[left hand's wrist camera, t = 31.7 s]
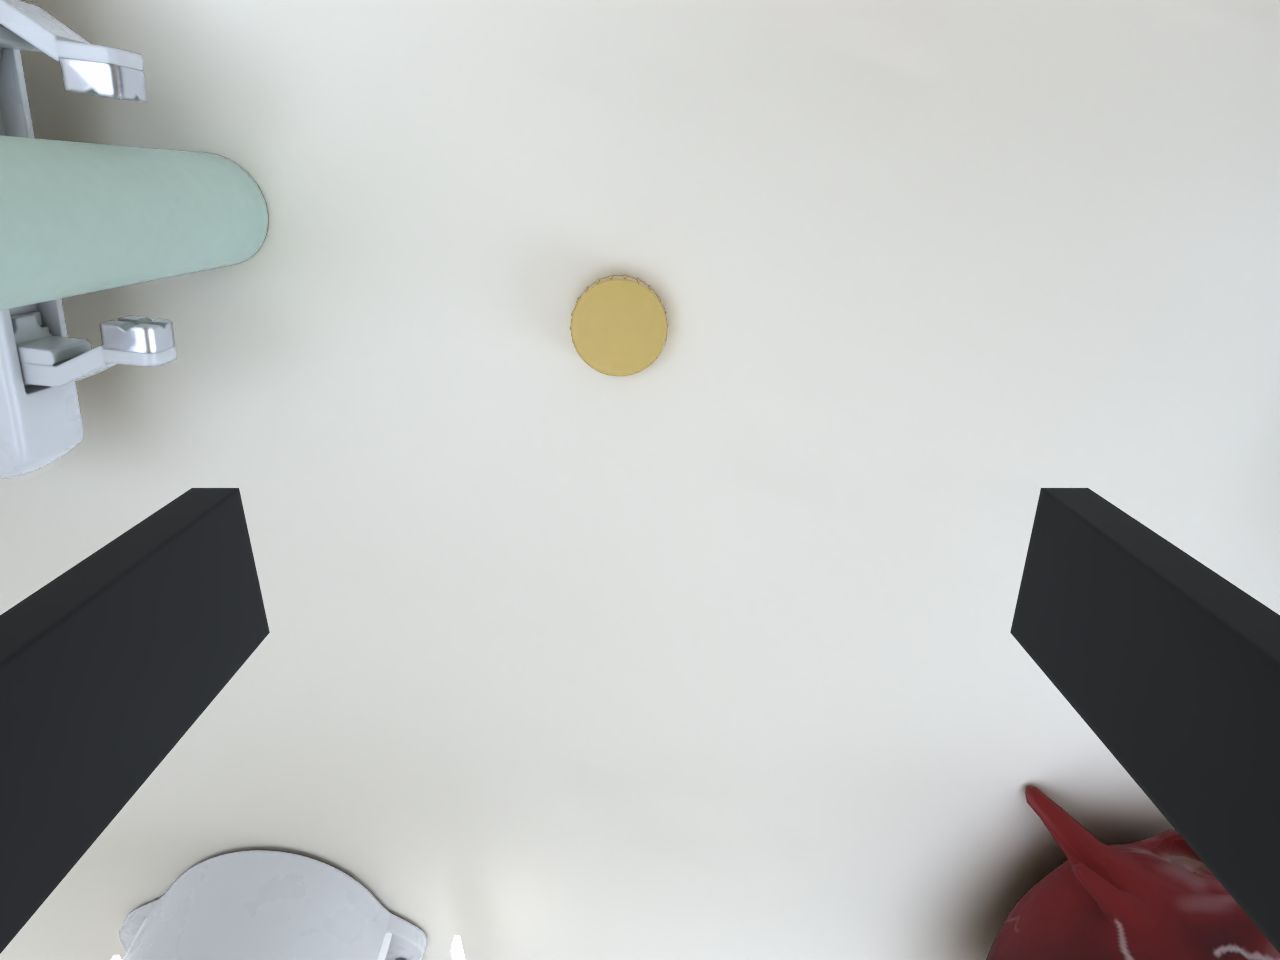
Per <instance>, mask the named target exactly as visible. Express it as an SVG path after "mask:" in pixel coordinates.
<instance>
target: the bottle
mask: <svg viewBox="0 0 1280 960" xmlns="http://www.w3.org/2000/svg"><path fill="white" fill-rule="evenodd" d="M267 229H268V212H267V206H266V203H265V200H264V197H263V195H262V193H261V191H260V189H259V187H258V186H257V184H256V183H255V181H254V180H253V179H252V177H251V176H250V175H249V174H248V173H247V172H246V171H245V170H244V169H243V168H241V167H240V166H239V165H237V164H236V163H234V162H233V161H231V160H229V159H227V158H224V157H222V156H219V155H215V154H210V153H201V152H189V151H178V150H166V149H154V148H142V147H130V146H119V145H107V144H95V143H83V142H71V141H60V140H48V139H36V138H24V137H12V136H0V310H4V309H9V308H15V307H20V306H25V305H30V304H35V303H40V302H45V301H50V300H55V299H60V298H66V297H71V296H76V295H81V294H86V293H91V292H96V291H101V290H106V289H111V288H117V287H122V286H127V285H132V284H137V283H142V282H147V281H152V280H157V279H162V278H168V277H173V276H178V275H183V274H188V273H193V272H198V271H203V270H208V269H213V268H219V267H224V266H229V265H234V264H238V263H241V262H243V261H245V260H247V259H249V258H250V257H252V256H253V255H254V254H255V253H256V252H257V251H258V250H259V248H260V247H261V245H262V244H263V242H264V239H265V237H266V233H267Z"/></svg>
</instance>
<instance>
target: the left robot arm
mask: <svg viewBox="0 0 1280 960" xmlns="http://www.w3.org/2000/svg"><path fill="white" fill-rule="evenodd" d="M268 634H269V628H268V623H267V618H266V614H265V609H264V604H263V600H262V595H261V590H260V585H259V581H258V576H257V571H256V567H255V562H254V557H253V552H252V548H251V543H250V538H249V534H248V529H247V524H246V520H245V515H244V510H243V505H242V501H241V496H240V491H239V488H191V489H190V490H188V491H187V492H185V493H184V494H182V495H181V496H179V497H178V498H176V499H175V500H173V501H172V502H170V503H169V504H167V505H166V506H164V507H163V508H161V509H160V510H158V511H157V512H155V513H154V514H152V515H151V516H149V517H148V518H146V519H145V520H143V521H142V522H140V523H139V524H137V525H136V526H134V527H133V528H131V529H130V530H128V531H127V532H125V533H124V534H122V535H121V536H119V537H118V538H116V539H115V540H113V541H112V542H110V543H109V544H107V545H106V546H104V547H103V548H101V549H100V550H98V551H97V552H95V553H94V554H92V555H91V556H89V557H88V558H86V559H85V560H83V561H82V562H80V563H79V564H77V565H76V566H74V567H73V568H71V569H70V570H68V571H67V572H65V573H63V574H62V575H60V576H59V577H57V578H56V579H54V580H53V581H51V582H50V583H48V584H47V585H45V586H44V587H42V588H41V589H39V590H38V591H36V592H35V593H33V594H32V595H30V596H29V597H27V598H26V599H24V600H23V601H21V602H20V603H18V604H17V605H15V606H14V607H12V608H11V609H9V610H8V611H6V612H5V613H3V614H2V615H0V953H1V952H2V951H3V950H4V949H5V947H6V946H7V945H8V944H9V943H10V941H11V940H12V939H13V938H14V937H15V935H16V934H17V933H18V932H19V931H20V929H21V928H22V927H23V926H24V925H25V924H26V922H27V921H28V920H29V919H30V918H31V916H32V915H33V914H34V913H35V912H36V910H37V909H38V908H39V907H40V906H41V904H42V903H43V902H44V901H45V900H46V898H47V897H48V896H49V895H50V894H51V893H52V891H53V890H54V889H55V888H56V887H57V885H58V884H59V883H60V882H61V881H62V879H63V878H64V877H65V876H66V875H67V873H68V872H69V871H70V870H71V869H72V867H73V866H74V865H75V864H76V863H77V862H78V860H79V859H80V858H81V857H82V856H83V854H84V853H85V852H86V851H87V850H88V848H89V847H90V846H91V845H92V844H93V842H94V841H95V840H96V839H97V838H98V836H99V835H100V834H101V833H102V832H103V830H104V829H105V828H106V827H107V826H108V825H109V823H110V822H111V821H112V820H113V819H114V817H115V816H116V815H117V814H118V813H119V811H120V810H121V809H122V808H123V807H124V805H125V804H126V803H127V802H128V801H129V799H130V798H131V797H132V796H133V795H134V794H135V792H136V791H137V790H138V789H139V788H140V786H141V785H142V784H143V783H144V782H145V780H146V779H147V778H148V777H149V776H150V774H151V773H152V772H153V771H154V770H155V768H156V767H157V766H158V765H159V764H160V763H161V761H162V760H163V759H164V758H165V757H166V755H167V754H168V753H169V752H170V751H171V749H172V748H173V747H174V746H175V745H176V743H177V742H178V741H179V740H180V739H181V737H182V736H183V735H184V734H185V733H186V731H187V730H188V729H189V728H190V727H191V726H192V724H193V723H194V722H195V721H196V720H197V718H198V717H199V716H200V715H201V714H202V712H203V711H204V710H205V709H206V708H207V706H208V705H209V704H210V703H211V702H212V700H213V699H214V698H215V697H216V696H217V695H218V693H219V692H220V691H221V690H222V689H223V687H224V686H225V685H226V684H227V683H228V681H229V680H230V679H231V678H232V677H233V675H234V674H235V673H236V672H237V671H238V669H239V668H240V667H241V666H242V665H243V664H244V662H245V661H246V660H247V659H248V658H249V656H250V655H251V654H252V653H253V652H254V650H255V649H256V648H257V647H258V646H259V644H260V643H261V642H262V641H263V640H264V638H265V637H266V636H267V635H268ZM1011 634H1012V635H1013V636H1014V637H1015V638H1016V640H1017V641H1018V642H1019V643H1020V644H1021V646H1022V647H1023V648H1024V649H1025V650H1026V652H1027V653H1028V654H1029V655H1030V656H1031V658H1032V659H1033V660H1034V661H1035V662H1036V664H1037V665H1038V666H1039V667H1040V668H1041V669H1042V671H1043V672H1044V673H1045V674H1046V675H1047V677H1048V678H1049V679H1050V680H1051V681H1052V683H1053V684H1054V685H1055V686H1056V687H1057V689H1058V690H1059V691H1060V692H1061V693H1062V695H1063V696H1064V697H1065V698H1066V699H1067V700H1068V702H1069V703H1070V704H1071V705H1072V706H1073V708H1074V709H1075V710H1076V711H1077V712H1078V714H1079V715H1080V716H1081V717H1082V718H1083V720H1084V721H1085V722H1086V723H1087V724H1088V726H1089V727H1090V728H1091V729H1092V730H1093V731H1094V733H1095V734H1096V735H1097V736H1098V737H1099V739H1100V740H1101V741H1102V742H1103V743H1104V745H1105V746H1106V747H1107V748H1108V749H1109V751H1110V752H1111V753H1112V754H1113V755H1114V757H1115V758H1116V759H1117V760H1118V761H1119V763H1120V764H1121V765H1122V766H1123V767H1124V768H1125V770H1126V771H1127V772H1128V773H1129V774H1130V776H1131V777H1132V778H1133V779H1134V780H1135V782H1136V783H1137V784H1138V785H1139V786H1140V788H1141V789H1142V790H1143V791H1144V792H1145V794H1146V795H1147V796H1148V797H1149V798H1150V799H1151V801H1152V802H1153V803H1154V804H1155V805H1156V807H1157V808H1158V809H1159V810H1160V811H1161V813H1162V814H1163V815H1164V816H1165V817H1166V819H1167V820H1168V821H1169V822H1170V823H1171V825H1172V826H1173V827H1174V828H1175V829H1176V830H1177V832H1178V833H1179V834H1180V835H1181V836H1182V838H1183V839H1184V840H1185V841H1186V842H1187V844H1188V845H1189V846H1190V847H1191V848H1192V850H1193V851H1194V852H1195V853H1196V854H1197V856H1198V857H1199V858H1200V859H1201V860H1202V862H1203V863H1204V864H1205V865H1206V866H1207V867H1208V869H1209V870H1210V871H1211V872H1212V873H1213V875H1214V876H1215V877H1216V878H1217V879H1218V881H1219V882H1220V883H1221V884H1222V885H1223V887H1224V888H1225V889H1226V890H1227V891H1228V893H1229V894H1230V895H1231V896H1232V897H1233V898H1234V900H1235V901H1236V902H1237V903H1238V904H1239V906H1240V907H1241V908H1242V909H1243V910H1244V912H1245V913H1246V914H1247V915H1248V916H1249V918H1250V919H1251V920H1252V921H1253V922H1254V924H1255V925H1256V926H1257V927H1258V928H1259V929H1260V931H1261V932H1262V933H1263V934H1264V935H1265V937H1266V938H1267V939H1268V940H1269V941H1270V943H1271V944H1272V945H1273V946H1274V947H1275V949H1276V950H1277V951H1278V952H1279V953H1280V615H1278V614H1277V613H1275V612H1274V611H1272V610H1271V609H1269V608H1268V607H1266V606H1265V605H1263V604H1262V603H1260V602H1259V601H1257V600H1256V599H1254V598H1253V597H1251V596H1250V595H1248V594H1247V593H1245V592H1244V591H1242V590H1241V589H1239V588H1238V587H1236V586H1235V585H1233V584H1232V583H1230V582H1229V581H1227V580H1226V579H1224V578H1223V577H1221V576H1220V575H1218V574H1217V573H1215V572H1213V571H1212V570H1210V569H1209V568H1207V567H1206V566H1204V565H1203V564H1201V563H1200V562H1198V561H1197V560H1195V559H1194V558H1192V557H1191V556H1189V555H1188V554H1186V553H1185V552H1183V551H1182V550H1180V549H1179V548H1177V547H1176V546H1174V545H1173V544H1171V543H1170V542H1168V541H1167V540H1165V539H1164V538H1162V537H1161V536H1159V535H1158V534H1156V533H1155V532H1153V531H1152V530H1150V529H1149V528H1147V527H1146V526H1144V525H1143V524H1141V523H1140V522H1138V521H1137V520H1135V519H1134V518H1132V517H1131V516H1129V515H1128V514H1126V513H1125V512H1123V511H1122V510H1120V509H1119V508H1117V507H1116V506H1114V505H1113V504H1111V503H1110V502H1108V501H1107V500H1105V499H1104V498H1102V497H1101V496H1099V495H1098V494H1096V493H1095V492H1093V491H1092V490H1090V489H1089V488H1041V491H1040V496H1039V501H1038V505H1037V510H1036V515H1035V520H1034V524H1033V529H1032V534H1031V538H1030V543H1029V548H1028V552H1027V557H1026V562H1025V567H1024V571H1023V576H1022V581H1021V585H1020V590H1019V595H1018V600H1017V604H1016V609H1015V614H1014V618H1013V623H1012V628H1011Z"/></svg>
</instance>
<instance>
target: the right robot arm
mask: <svg viewBox="0 0 1280 960" xmlns="http://www.w3.org/2000/svg"><path fill="white" fill-rule="evenodd" d="M20 50H26V51H35V52H44V53H45V54H47V55H49V56H50V57H52V58H53V59H55V60H56V61H58V62H60V65H61V71H62V77H63V82H64V88H65V90H66V91H71V92H76V93H83V94H88V95H93V96H99V97H107V98H114V99H125V100H131V101H139V102H147V98H146V88H145V77H144V72H143V71H144V68H143V60H142V55H140V54H137V53H133V52H129V51H126V50H122V49H117V48H112V47H107V46H102V45H94V44H90V43H89V42H88V41H86V40H85V39H83V38H82V37H81V36H79V35H78V34H76V33H75V32H74V31H72V30H71V29H69V28H68V27H67V26H65V25H64V24H62V23H61V22H60V21H58V20H57V19H55V18H54V17H53V16H51V15H50V14H49V13H47V12H46V11H44V10H43V9H42V8H40V7H39V6H35V5H32V4H29V3H26V2H23V1H19V0H0V136H12V137H24V138H34V132H33V126H32V120H31V114H30V108H29V102H28V96H27V90H26V84H25V78H24V72H23V66H22V60H21V54H20ZM100 328H101V337H102V345H100V346H98V347H96V348H94V349H91V343H90V342H89V341H88V340H87V339H79V338H70V337H68V335H67V329H66V323H65V317H64V311H63V305H62V299H61V298H60V299H55V300H50V301H45V302H40V303H35V304H30V305H25V306H20V307H15V308H9V309H4V310H0V478H13V477H17V476H21V475H24V474H27V473H30V472H32V471H35V470H37V469H39V468H42V467H44V466H46V465H48V464H50V463H52V462H54V461H55V460H57V459H59V458H60V457H62V456H63V455H64V454H66V453H67V452H69V451H70V450H71V449H72V448H73V447H75V446H76V445H77V444H78V443H79V442H80V441H81V440H82V438H83V424H82V419H81V413H80V407H79V401H78V395H77V389H76V383H75V381H78V380H81V379H84V378H87V377H90V376H93V375H95V374H98V373H100V372H102V371H104V370H106V369H108V368H110V367H112V366H114V365H116V364H126V365H136V366H146V367H147V366H159V365H163V364H165V363H168V362H170V361H173V360H176V351H175V342H174V333H173V325H172V321H171V320H167V319H156V320H153V321H152V320H150V319H149V318H148V317H139V316H126V317H122V318H119V319H118V321H114V320H110V321H107V322H103V323H100ZM119 936H120V939H121V941H122V943H123V946H124V948H125V950H126V953H125V955H124V957H123V959H122V960H422V957H423V954H424V950H425V947H426V943H427V938H426V935H425V934H424V932H423V931H421V930H420V929H419V928H417V927H416V926H414V925H413V924H411V923H409V922H407V921H405V920H403V919H401V918H399V917H397V916H395V915H393V914H391V913H390V912H389V911H387V910H386V909H385V908H384V907H383V906H382V905H381V904H380V903H379V902H378V901H377V899H376V898H375V897H374V896H373V895H372V894H371V893H370V892H369V891H368V890H367V889H366V888H365V887H364V886H362V885H361V884H360V883H359V882H357V881H356V880H355V879H353V878H352V877H350V876H349V875H347V874H346V873H344V872H342V871H340V870H338V869H336V868H334V867H332V866H330V865H328V864H325V863H323V862H320V861H318V860H315V859H312V858H309V857H305V856H301V855H297V854H292V853H287V852H279V851H267V850H251V851H240V852H233V853H228V854H223V855H219V856H216V857H213V858H210V859H208V860H205V861H203V862H201V863H199V864H197V865H195V866H194V867H192V868H190V869H189V870H188V871H186V872H185V873H184V874H182V875H181V876H180V877H179V878H178V879H177V880H176V881H175V882H174V884H173V885H172V886H171V887H170V889H169V890H168V891H167V892H166V893H165V894H164V895H163V896H162V897H161V898H159V899H158V900H155V901H153V902H150V903H148V904H146V905H143V906H141V907H139V908H137V909H135V910H134V911H132V912H131V913H130V914H129V915H128V916H127V918H126V920H125V922H124V923H123V925H122V927H121V929H120V931H119ZM451 953H452V957H453V960H465V957H464V953H463V948H462V944H461V940H460V935H457V936H454V940H453V944H452V949H451ZM111 960H121V958H120V956H119V955H114V956H113V957H112V959H111Z"/></svg>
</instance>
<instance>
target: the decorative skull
mask: <svg viewBox="0 0 1280 960" xmlns="http://www.w3.org/2000/svg"><path fill="white" fill-rule="evenodd" d="M1025 794H1026V799H1027V803H1028V804H1029V805H1030V806H1031V807H1032V809H1033V810H1034V811H1035V812H1036V813H1037V815H1038V816H1039V817H1040V818H1041V820H1042V821H1043V823H1044V824H1045V826H1046V827H1047V829H1048V830H1049V831H1050V833H1051V834H1052V836H1053V837H1054V839H1055V840H1056V842H1057V843H1058V845H1059V846H1060V847H1061V849H1062V850H1063V852H1064V853H1065V855H1066V856H1067V858H1068V860H1066V861H1065V862H1064V863H1062V864H1061V865H1060V866H1058V867H1057V868H1056V869H1055V870H1053V871H1052V872H1051V873H1049V874H1048V875H1047V876H1045V877H1044V878H1043V879H1042V880H1040V881H1039V882H1038V883H1036V884H1035V885H1034V886H1033V887H1032V888H1031V889H1030V890H1029V891H1028V892H1027V893H1026V894H1025V895H1024V896H1023V897H1022V898H1021V899H1020V900H1019V901H1018V902H1017V903H1016V904H1015V906H1014V907H1013V909H1012V910H1011V911H1010V913H1009V914H1008V916H1007V918H1006V919H1005V921H1004V923H1003V925H1002V926H1001V928H1000V930H999V932H998V934H997V935H996V938H995V940H994V942H993V945H992V947H991V949H990V952H989V954H988V956H987V959H986V960H1280V953H1279V952H1278V951H1277V950H1276V949H1275V947H1274V946H1273V945H1272V944H1271V943H1270V941H1269V940H1268V939H1267V938H1266V937H1265V935H1264V934H1263V933H1262V932H1261V931H1260V929H1259V928H1258V927H1257V926H1256V925H1255V924H1254V922H1253V921H1252V920H1251V919H1250V918H1249V916H1248V915H1247V914H1246V913H1245V912H1244V910H1243V909H1242V908H1241V907H1240V906H1239V904H1238V903H1237V902H1236V901H1235V900H1234V898H1233V897H1232V896H1231V895H1230V894H1229V893H1228V891H1227V890H1226V889H1225V888H1224V887H1223V885H1222V884H1221V883H1220V882H1219V881H1218V879H1217V878H1216V877H1215V876H1214V875H1213V873H1212V872H1211V871H1210V870H1209V869H1208V867H1207V866H1206V865H1205V864H1204V863H1203V862H1202V860H1201V859H1200V858H1199V857H1198V856H1197V854H1196V853H1195V852H1194V851H1193V850H1192V848H1191V847H1190V846H1189V845H1188V844H1187V842H1186V841H1185V840H1184V839H1183V838H1182V836H1181V835H1180V834H1179V833H1178V832H1177V831H1174V830H1170V829H1169V830H1167V831H1165V832H1163V833H1161V834H1158V835H1156V836H1153V837H1150V838H1146V839H1142V840H1139V841H1135V842H1132V843H1128V844H1124V845H1123V844H1108V845H1105V844H1104V843H1102V842H1100V841H1099V840H1098V839H1097V838H1095V837H1094V836H1093V835H1092V834H1091V833H1090V832H1088V831H1087V830H1086V829H1085V828H1084V827H1083V826H1082V825H1080V824H1079V823H1078V822H1077V821H1076V820H1075V819H1073V818H1072V817H1071V816H1070V815H1069V814H1068V813H1067V812H1065V811H1064V810H1063V809H1062V808H1061V807H1060V806H1058V805H1057V804H1056V803H1055V802H1053V801H1052V800H1051V799H1050V798H1048V797H1047V796H1046V795H1045V794H1043V793H1042V792H1041V791H1040V790H1038V789H1037V788H1035V787H1027V788H1026V791H1025Z"/></svg>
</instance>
